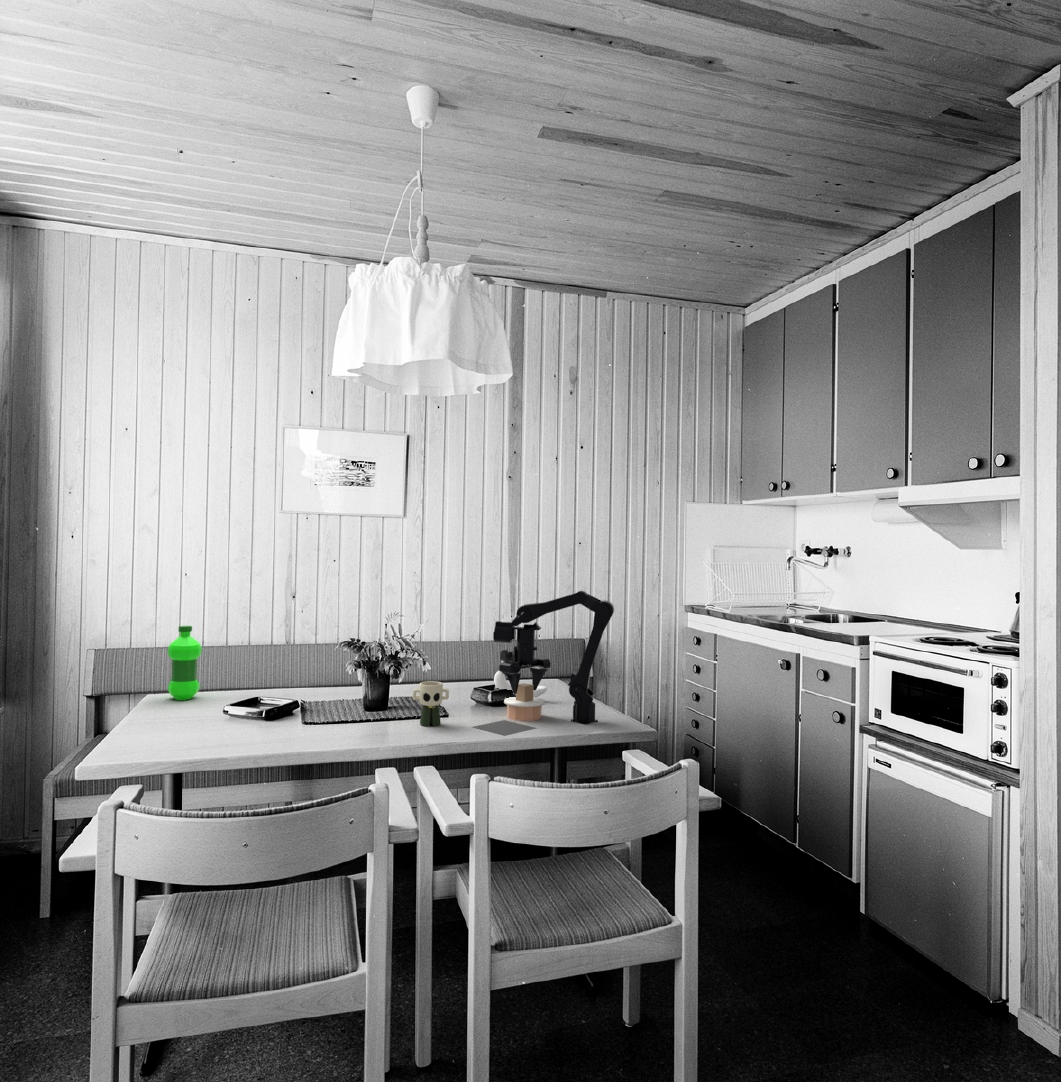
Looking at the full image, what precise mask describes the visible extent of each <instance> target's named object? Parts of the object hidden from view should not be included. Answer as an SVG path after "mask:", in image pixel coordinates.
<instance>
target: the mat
mask: <svg viewBox="0 0 1061 1082" xmlns="http://www.w3.org/2000/svg"><path fill="white" fill-rule="evenodd" d="M472 728H474V729H477V730H481V731H485V732H489V733H492V734H496V735H499V736H509V735H515V734H517V733H522V732H526V731H531V730H535V729H537V727H535V726H530V725H526V724H522V723H518V722H514V721H509V720H506V719H503V720H498V721H494V722H493V721H492V722H488V723H483V724H479V725H474V726H472Z"/></svg>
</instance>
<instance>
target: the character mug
mask: <svg viewBox="0 0 1061 1082" xmlns="http://www.w3.org/2000/svg"><path fill="white" fill-rule="evenodd" d="M443 686H444V684H443V682H440V681H434V680H433V681H432V680H431V681H430V680H429V681H422V682H420V683H419V687H418V688H413V690H412V700H413V701H418V702H419V704H420V705H421V706H422V708H421V713H420V719H419V724H420V726H423V727H430V725H432V727H437V726H440V725H441V713H440V707H439V706H440V705H441V704H442V702H443V700H449V696H450V694H449V693H450V690H449V689H448V688H444V687H443ZM417 693H419V694H418V696H417ZM443 693H445V696H444V695H443Z"/></svg>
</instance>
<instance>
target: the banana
mask: <svg viewBox="0 0 1061 1082" xmlns="http://www.w3.org/2000/svg"><path fill="white" fill-rule="evenodd" d="M502 662H504V661H501V662H500V664H501V663H502ZM506 678H507V677H506V675H505V674H503V673H502V672H501V671H499V670H497V671H496V673H495V674H494V677H493V682H494V685H495V688H496V689H497V688H499V689H507V690H512V688H511V685H510V682H509V681H508V680H507V679H506ZM547 691H548V687H547V686H544V685H538V687H537V689H536V690H533V697H537V698H539V697H540V696H543V695H544V694H545V693H546V692H547Z"/></svg>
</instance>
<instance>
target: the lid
mask: <svg viewBox="0 0 1061 1082" xmlns="http://www.w3.org/2000/svg"><path fill="white" fill-rule="evenodd" d="M533 688H534V685H532V683H526V682H525V683H524V682H523V683H519V685H518V690H517V693H516V697H509V698H506V697H505V698H504V701H503V703H504V704H505V705H506V706H507V705H510V706H516V707H536V706H541V705H542V706H544V705H545V702H546V701H545V699H543V698H540V697H533Z"/></svg>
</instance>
